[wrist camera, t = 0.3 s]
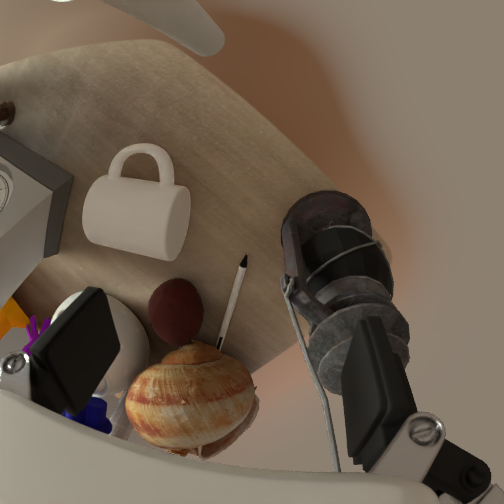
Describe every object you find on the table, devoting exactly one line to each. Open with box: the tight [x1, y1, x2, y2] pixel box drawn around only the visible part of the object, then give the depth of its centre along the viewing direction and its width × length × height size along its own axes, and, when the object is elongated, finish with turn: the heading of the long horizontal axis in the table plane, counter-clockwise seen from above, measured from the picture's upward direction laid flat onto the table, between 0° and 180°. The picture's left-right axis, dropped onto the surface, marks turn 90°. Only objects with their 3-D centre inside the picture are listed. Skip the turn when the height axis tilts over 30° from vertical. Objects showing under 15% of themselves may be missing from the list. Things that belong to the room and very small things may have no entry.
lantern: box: [280, 191, 410, 472], centre depth 20 cm, size 12×11×30 cm
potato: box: [148, 278, 204, 347], centre depth 37 cm, size 7×10×6 cm
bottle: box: [109, 388, 133, 441], centre depth 41 cm, size 4×4×20 cm
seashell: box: [125, 340, 259, 460], centre depth 38 cm, size 21×21×15 cm
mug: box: [82, 143, 191, 261], centre depth 30 cm, size 12×10×8 cm
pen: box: [215, 253, 248, 351], centre depth 39 cm, size 1×19×1 cm, turn 164°
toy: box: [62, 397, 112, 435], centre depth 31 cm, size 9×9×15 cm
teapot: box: [50, 291, 150, 398], centre depth 38 cm, size 19×18×14 cm
